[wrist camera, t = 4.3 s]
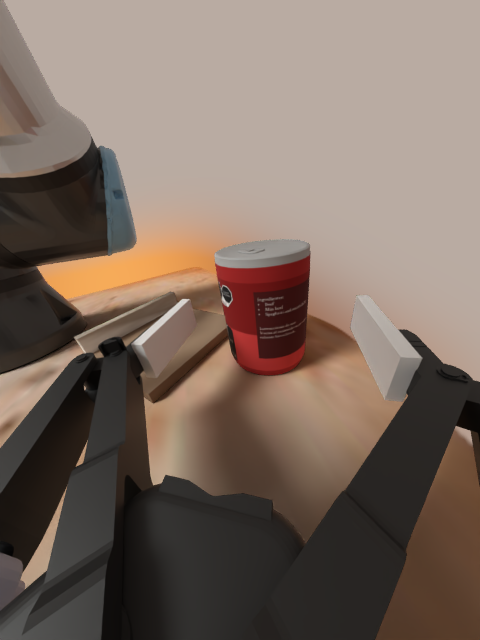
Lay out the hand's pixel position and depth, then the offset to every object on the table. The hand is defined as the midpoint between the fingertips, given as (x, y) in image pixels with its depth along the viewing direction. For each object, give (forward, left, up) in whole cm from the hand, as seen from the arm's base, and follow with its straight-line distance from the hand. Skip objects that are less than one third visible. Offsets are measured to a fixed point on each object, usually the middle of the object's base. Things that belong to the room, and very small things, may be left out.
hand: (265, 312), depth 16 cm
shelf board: (-14, -1, -6) cm, 15 cm away
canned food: (-1, +2, -7) cm, 7 cm away
